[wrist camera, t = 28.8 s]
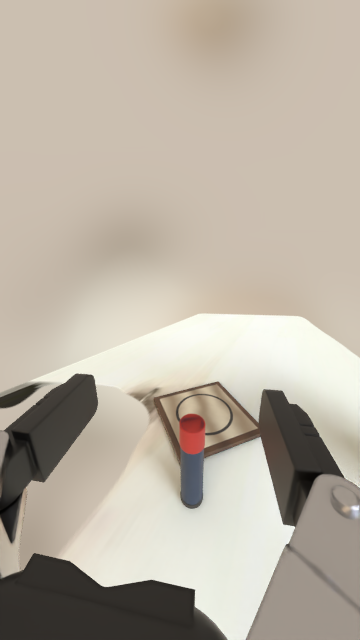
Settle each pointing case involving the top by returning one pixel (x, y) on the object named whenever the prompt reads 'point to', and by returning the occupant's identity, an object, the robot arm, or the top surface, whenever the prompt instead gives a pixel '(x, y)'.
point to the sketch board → (208, 417)
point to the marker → (192, 458)
